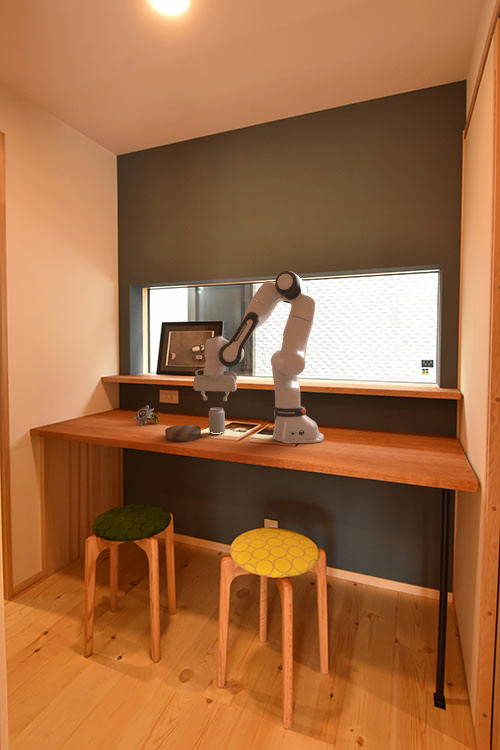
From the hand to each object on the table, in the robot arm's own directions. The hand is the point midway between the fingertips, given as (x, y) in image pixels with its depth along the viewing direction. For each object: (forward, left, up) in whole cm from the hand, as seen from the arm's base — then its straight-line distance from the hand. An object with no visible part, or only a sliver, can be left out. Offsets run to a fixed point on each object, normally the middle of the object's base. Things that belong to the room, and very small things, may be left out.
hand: (215, 400), depth 189 cm
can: (0, 0, -16) cm, 16 cm away
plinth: (+14, +8, -16) cm, 22 cm away
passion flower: (+43, -18, -16) cm, 49 cm away
